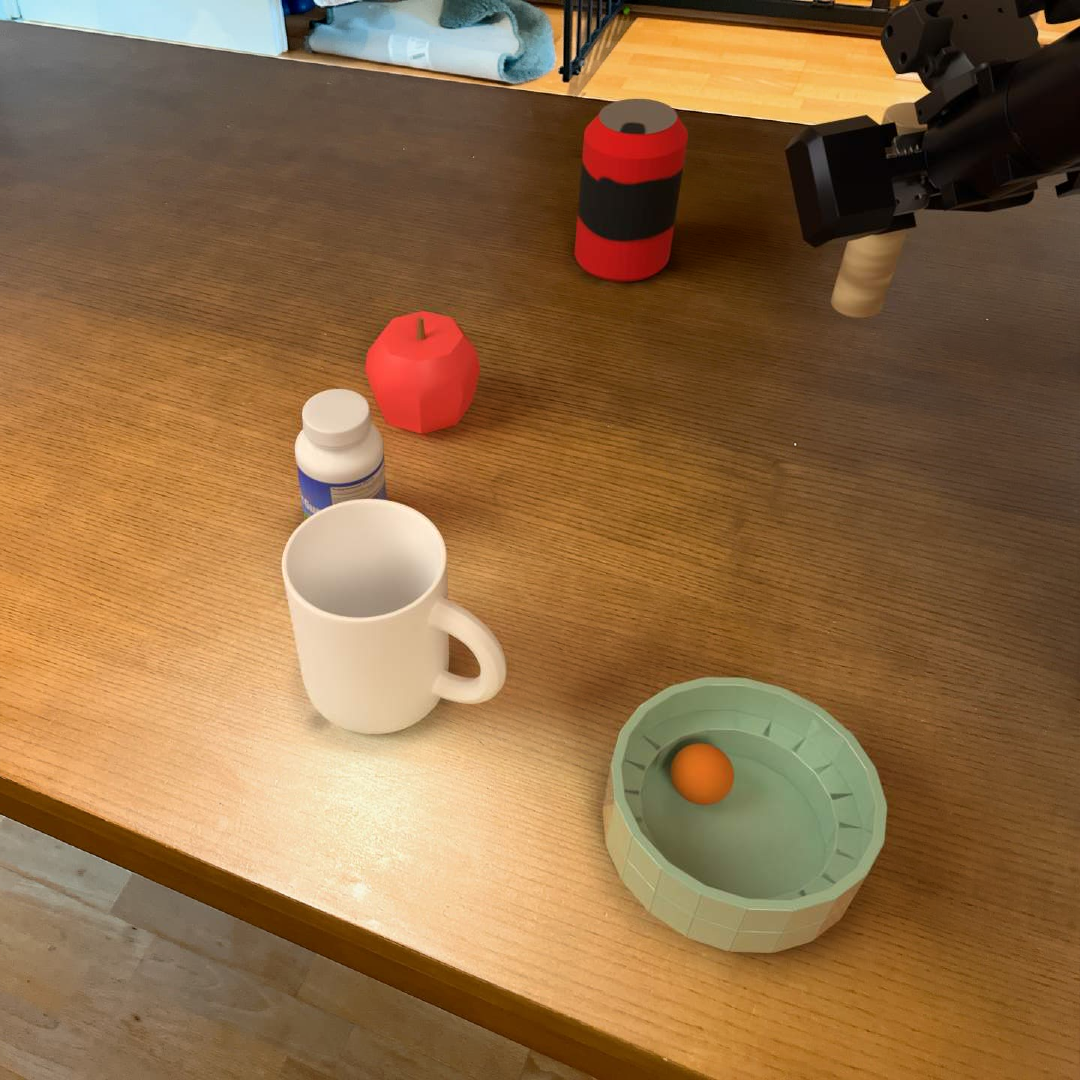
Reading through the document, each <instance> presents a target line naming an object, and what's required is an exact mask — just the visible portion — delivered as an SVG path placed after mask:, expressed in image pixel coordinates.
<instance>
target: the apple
mask: <svg viewBox="0 0 1080 1080" xmlns="http://www.w3.org/2000/svg"><path fill="white" fill-rule="evenodd" d="M481 370H482V368H481V364H480V361H479V357H478V352H477V349H476V348H475V346H474V345H473V344H472V342H471V341H470V338H468V336H467V335H466V333H465V331H464V330H463V329H462V327H461V326H460V325H459V324H458V322H456V321H455V320H454V318H453V317H450V316H446V315H442V314H437V313H433V312H429V311H425V310H421V311H418V312H413V313H409V314H405V315H401V316H397V317H393V318H392V319H391V320H390V321H389V323H388V324H387V325H386V327H385V328H384V329H383V330H382V332H381V333H380V334H379V335H378V337H377V338H376V340H375V341H374V342H373V343H372V345H371V346H370V347H369V349H368V350H367V353H366V359H365V366H364V372H365V375H366V378H367V381H368V383H369V386H370V390H371V393H372V396H373V399H374V402H375V404H376V406H377V407H378V409H379V411H380V413H381V415H382V417H383V419H384V421H385V423H386V424H387V425H388V426H392V427H394V428H395V427H396V428H399V429H403V430H405V431H409V432H413V433H415V434H416V433H417V434H420V435H424V434H427V433H431V432H435V431H439V430H442V429H445V428H449V427H452V426H456V425H458V423H459V422H460V421H461V419H462V418H463V416H464V415H465V414H466V412H467V410H468V409H469V407H470V406H471V404H472V403H473V400H474V397H475V393H476V389H477V385H478V381H479V378H480V373H481Z"/></svg>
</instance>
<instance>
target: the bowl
mask: <svg viewBox="0 0 1080 1080" xmlns="http://www.w3.org/2000/svg"><path fill="white" fill-rule="evenodd" d="M696 743H704V744H710V745H713V746H715V747H717V748H718V749H720V750H721V751H723V752H724V753H725V754H726V755H727V757H728V758H729V760H730V761H731V763H732V766H733V770H734V783H733V786H732V788H731V791H730V792H729V794H728V795H727V796H726V797H725V798H724V799H722V800H721V801H719V802H717V803H715V804H711V805H698V804H694V803H691V802H689V801H687V800H686V799H684V798H683V797H682V796H681V795H680V794H679V793H678V792H677V790H676V789H675V787H674V785H673V783H672V779H671V765H672V762H673V760H674V758H675V756H676V755H677V754H678V752H679V751H680V750H682V749H683V748H685V747H686V746H689V745H691V744H696ZM887 817H888V804H887V799H886V796H885V793H884V790H883V786H882V782H881V780H880V777H879V773H878V770H877V768H876V766H875V764H874V763H873V761H872V760H871V759H870V757H869V756H868V754H867V753H866V751H865V750H864V748H863V747H862V745H861V744H860V742H859V741H858V740H857V738H856V736H855V735H854V734H853V733H852V732H851V731H850V730H849V729H847V728H846V727H845V726H844V725H843V724H841V722H840V721H838V720H837V719H836V718H835V717H834V716H832V715H831V714H830V713H829V712H828V711H826V709H824V707H821V706H820V705H818V704H816V703H814V702H813V701H810V700H808V699H807V698H804V697H803V696H801V695H799V694H797V693H795V692H793V691H791V690H789V689H787V688H786V687H782V686H779V685H775V684H771V683H767V682H763V681H759V680H755V679H751V678H748V677H740V676H739V677H737V676H736V677H735V676H732V677H728V676H727V677H725V676H723V677H722V676H704V677H699V678H696V679H692V680H687V681H684V682H680V683H676V684H672V685H669V686H668V687H666V688H665V689H663V690H661V691H660V692H659V693H657V694H655V695H653V696H652V697H650V698H649V699H647V700H645V701H644V702H642V703H640V705H638V707H637V708H636V709H635V710H634V711H633V713H632V714H631V716H630V717H629V718H628V720H627V721H626V722H625V724H624V725H623V726H622V728H620V730H619V732H618V736H617V740H616V743H615V746H614V751H613V753H612V758H611V762H610V766H609V772H608V778H607V783H606V789H605V794H604V799H603V805H602V820H603V821H602V822H603V829H604V830H603V831H604V841H605V845H606V846H605V847H606V849H607V851H608V854H609V855H610V858H611V860H612V863H613V865H614V867H615V869H616V872H617V873H618V876H619V878H620V880H621V882H622V883H623V884H624V885H625V887H626V888H627V889H628V890H629V891H630V892H631V894H632V895H633V896H634V898H636V900H637V901H639V903H640V904H641V905H642V906H643V907H644V909H645V910H646V911H647V912H648V913H649V914H650V915H652V916H654V917H655V918H657V919H658V920H660V921H661V922H663V923H664V924H666V925H667V926H668V927H670V928H672V929H673V930H675V932H677V933H679V934H680V935H682V936H684V937H685V938H687V939H689V940H693V941H696V942H699V943H702V944H705V945H708V946H711V947H714V948H716V949H719V950H722V951H726V952H732V953H733V952H735V953H758V954H759V953H760V954H765V953H766V954H774V953H775V954H776V953H778V952H782V951H784V950H788V949H791V948H795V947H798V946H801V945H805V944H808V943H811V942H813V941H814V940H816V939H817V938H819V937H820V936H821V935H823V933H825V932H826V931H827V930H829V929H830V928H831V927H833V926H834V925H835V924H837V923H838V922H839V921H840V920H841V919H842V918H843V916H844V914H845V913H846V911H847V910H848V908H849V906H850V904H851V903H852V902H853V900H854V898H855V896H856V895H857V893H858V892H859V890H860V888H861V886H862V884H863V882H864V881H865V880H866V878H867V876H868V875H869V873H870V871H871V869H872V867H873V865H874V863H875V862H876V860H877V858H878V856H879V854H880V852H881V851H882V849H883V847H884V845H885V841H886V832H887V831H886V830H887Z"/></svg>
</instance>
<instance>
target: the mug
mask: <svg viewBox="0 0 1080 1080" xmlns="http://www.w3.org/2000/svg"><path fill="white" fill-rule="evenodd" d="M281 557H282V558H281V574H282V578H283V579H282V580H283V584H284V589H285V595H286V599H287V604H288V609H289V615H290V620H291V625H292V626H291V627H292V631H293V637H294V641H295V646H296V651H297V657H298V662H299V667H300V673H301V678H302V682H303V686H304V688H305V691H306V694H307V696H308V698H309V700H310V702H311V704H312V706H314V708H315V709H316V711H317V712H318V713H319V714H320V715H321V716H322V717H324V718H325V719H326V720H328V721H329V722H330V723H331V724H333V725H336V726H337V727H339V728H341V729H343V730H346V731H349V732H353V733H356V734H363V735H386V734H390V733H391V734H392V733H395V732H399V731H401V730H404V729H407V728H409V727H412V726H413V725H415V724H417V723H418V722H420V721H421V720H423V719H424V718H425V717H427V716H428V715H429V714H430V713H431V712H432V710H434V709H435V707H436V706H437V705H438V703H439V702H440V701H441V698H442V699H444V700H448V701H451V702H455V703H458V704H459V703H460V704H465V705H466V704H468V705H474V704H480V703H484V702H487V701H490V700H491V699H493V698H495V697H496V695H498V693H499V692H500V691H502V689H503V686H504V685H505V681H506V677H507V674H508V673H507V671H508V669H507V668H508V667H507V661H506V656H505V653H504V649H503V648H502V646H501V643H500V641H499V640H498V638H497V636H496V635H495V634H494V632H492V630H491V629H490V628H489V627H488V626H487V625H486V624H485V622H483V621H482V620H481V619H480V618H478V617H477V616H476V615H475V614H473V612H471V611H469V610H468V609H466V608H465V607H463V606H461V605H460V604H458V603H456V602H454V601H453V600H450V599H449V590H448V589H449V584H448V580H449V579H448V577H449V576H448V551H447V547H446V543H445V539H444V538H443V536H442V533H441V532H440V530H439V529H438V528H437V526H436V525H435V524H434V523H433V522H432V521H431V519H429V518H428V517H427V516H426V515H424V514H423V513H421V512H420V511H418V510H416V509H414V508H413V507H410V506H408V505H406V504H403V503H399V502H397V501H391V500H380V499H358V500H351V501H345V502H342V503H338V504H335V505H332V506H329V507H327V508H325V509H323V510H321V511H319V512H317V513H315V514H314V515H312V516H310V517H309V518H308V519H307V520H304V521H302V522H301V524H299V526H298V527H296V528H295V529H294V531H293V533H292V534H291V535H290V537H289V538H288V540H287V543H286V544H285V547H284V549H283V552H282V556H281ZM450 635H451V636H452V637H454V638H456V639H457V640H459V641H460V642H462V643H463V644H464V645H465V646H466V647H467V648H469V650H470V651H471V652H472V653H473V655H474V656H475V658H476V660H477V662H478V665H479V668H480V673H479V675H478V676H477V677H464V676H460V675H457V674H455V673H453V672H450V671H449V668H450Z"/></svg>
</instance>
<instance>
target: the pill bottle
mask: <svg viewBox="0 0 1080 1080" xmlns="http://www.w3.org/2000/svg"><path fill="white" fill-rule="evenodd" d="M370 408H371V407H370V404H369V402H368V400H367V399H366V398H365V397H364V396H363V395H362V394H360V393H359V392H357V391H354V390H351V389H345V388H330V389H327V390H324V391H320V392H318V393H316V394H314V395H313V396H311V397H309V399H307V401H306V402H305V403H304V405H303V407H302V411H301V417H302V429H301V430H300V432H299V433H298V435H297V437H296V439H295V444H294V456H295V465H296V472H297V478H298V479H297V480H298V485H299V492H300V499H301V500H300V501H301V506H302V513H303V519H304V521H305V520H307V519H308V518H309V517H310V516H312V515H314V514H315V513H317V512H319V511H321V510H323V509H325V508H327V507H329V506H332V505H335V504H338V503H342V502H345V501H351V500H358V499H380V500H387V498H388V497H387V485H386V483H387V482H386V467H385V465H386V463H385V449H384V448H385V446H384V439H383V436H382V434H381V432H380V430H379V428H378V427H377V426H376V425H375V424H374V423H373V422H372V416H371V409H370Z"/></svg>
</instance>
